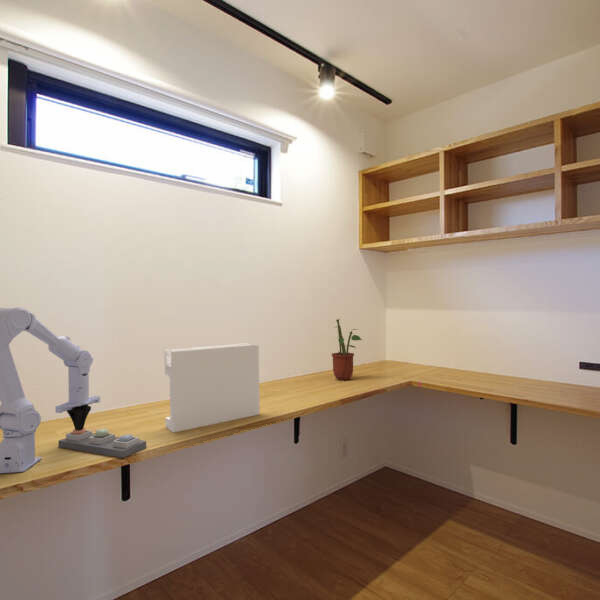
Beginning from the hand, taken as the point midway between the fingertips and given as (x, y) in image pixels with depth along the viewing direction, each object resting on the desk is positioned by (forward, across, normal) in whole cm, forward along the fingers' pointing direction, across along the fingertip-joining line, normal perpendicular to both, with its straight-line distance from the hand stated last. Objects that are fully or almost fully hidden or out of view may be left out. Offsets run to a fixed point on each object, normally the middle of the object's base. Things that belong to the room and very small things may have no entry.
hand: (79, 429), depth 127 cm
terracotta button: (+1, 0, 0) cm, 1 cm away
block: (+5, +36, -27) cm, 46 cm away
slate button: (+1, 0, -20) cm, 20 cm away
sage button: (+1, 0, -10) cm, 10 cm away
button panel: (+4, 0, -10) cm, 11 cm away
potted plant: (+5, +134, -52) cm, 143 cm away
